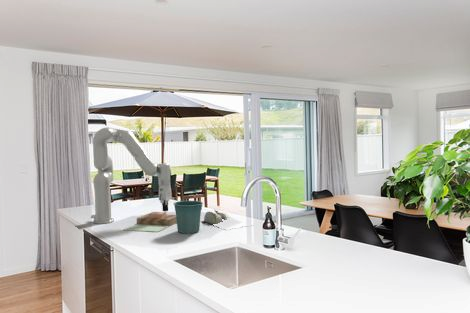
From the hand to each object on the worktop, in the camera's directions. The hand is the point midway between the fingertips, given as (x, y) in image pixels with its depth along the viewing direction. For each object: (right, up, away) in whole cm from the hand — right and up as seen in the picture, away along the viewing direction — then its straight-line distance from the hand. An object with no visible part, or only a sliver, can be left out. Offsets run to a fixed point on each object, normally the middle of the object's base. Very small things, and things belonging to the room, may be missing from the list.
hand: (165, 210), depth 246 cm
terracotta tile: (-3, -2, -10) cm, 10 cm away
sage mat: (-7, -7, -23) cm, 25 cm away
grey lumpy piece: (+39, -7, -11) cm, 41 cm away
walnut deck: (-3, -6, -9) cm, 11 cm away
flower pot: (+19, -7, -31) cm, 37 cm away
